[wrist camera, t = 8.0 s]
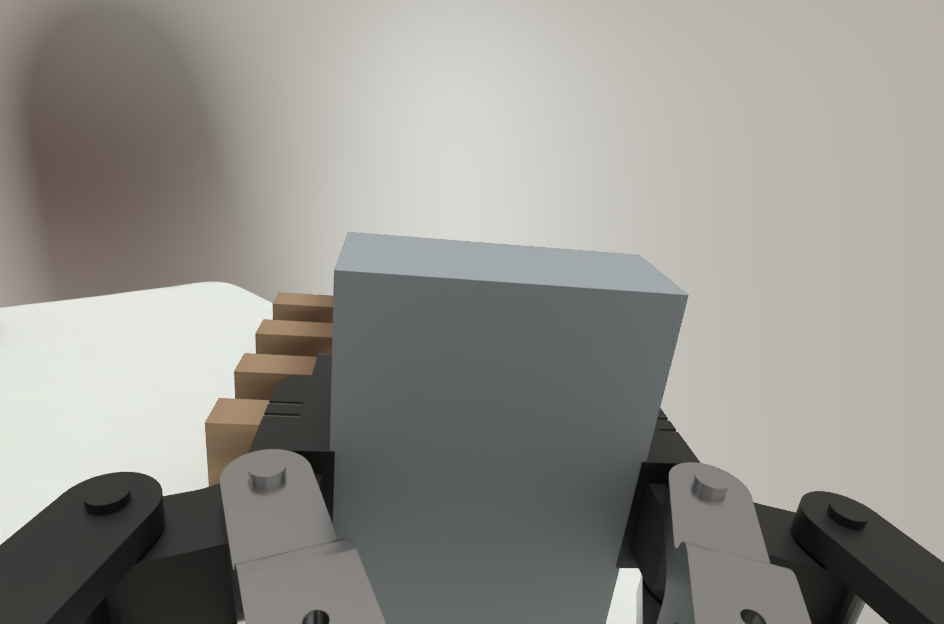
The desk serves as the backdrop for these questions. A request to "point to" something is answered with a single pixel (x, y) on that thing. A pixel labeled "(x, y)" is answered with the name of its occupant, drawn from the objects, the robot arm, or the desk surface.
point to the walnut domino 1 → (231, 432)
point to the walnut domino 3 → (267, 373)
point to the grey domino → (493, 422)
